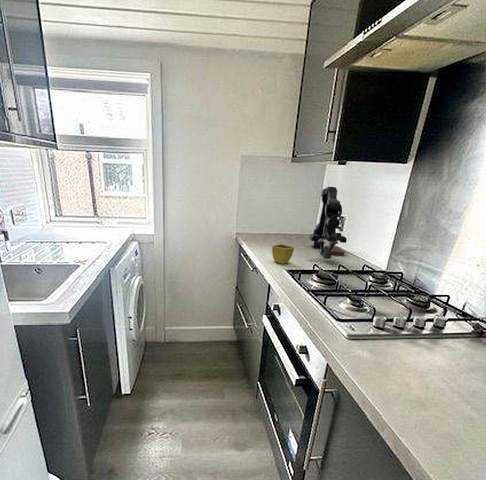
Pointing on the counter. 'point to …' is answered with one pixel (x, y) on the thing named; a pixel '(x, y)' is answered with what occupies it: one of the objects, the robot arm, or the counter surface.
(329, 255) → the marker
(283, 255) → the flower pot
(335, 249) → the stand
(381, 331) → the counter surface
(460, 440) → the counter surface
